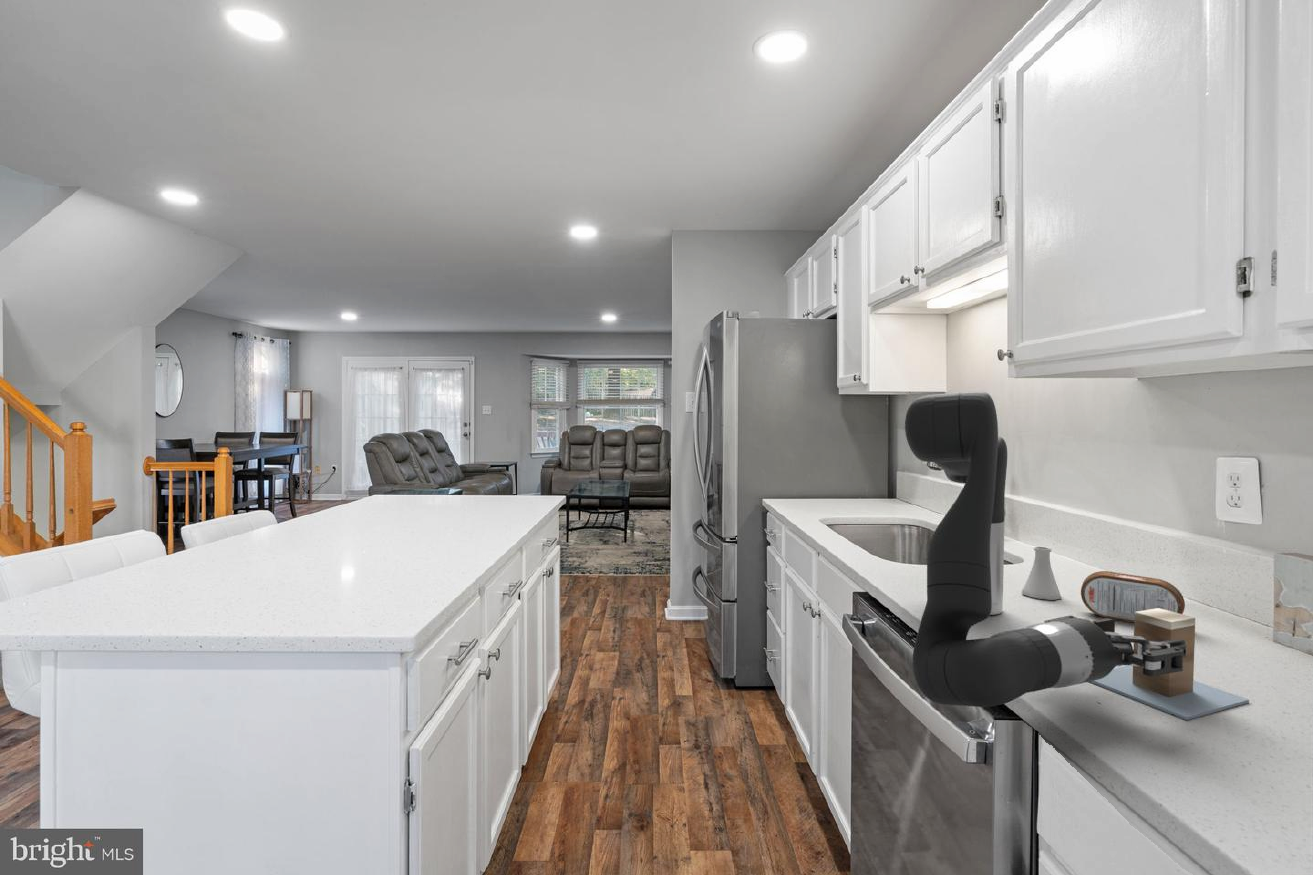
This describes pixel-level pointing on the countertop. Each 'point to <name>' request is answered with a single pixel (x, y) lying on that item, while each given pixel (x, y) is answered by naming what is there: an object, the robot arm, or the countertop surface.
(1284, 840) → the countertop surface
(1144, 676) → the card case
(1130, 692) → the mat
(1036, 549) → the flask
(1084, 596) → the tin
